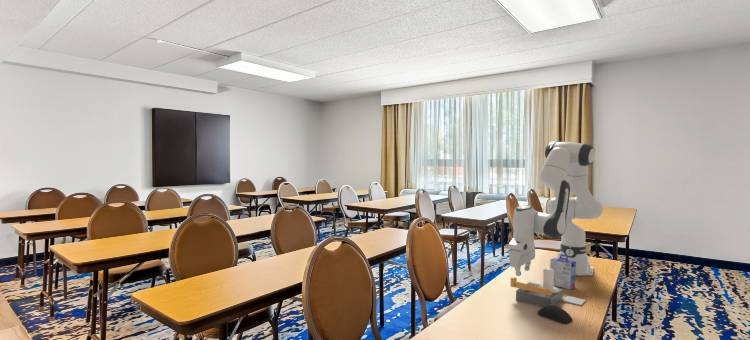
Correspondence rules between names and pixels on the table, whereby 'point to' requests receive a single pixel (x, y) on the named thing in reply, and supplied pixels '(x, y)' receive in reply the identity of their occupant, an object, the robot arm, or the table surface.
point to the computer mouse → (555, 314)
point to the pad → (574, 300)
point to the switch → (538, 297)
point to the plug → (549, 280)
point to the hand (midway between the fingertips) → (522, 272)
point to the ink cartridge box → (563, 272)
